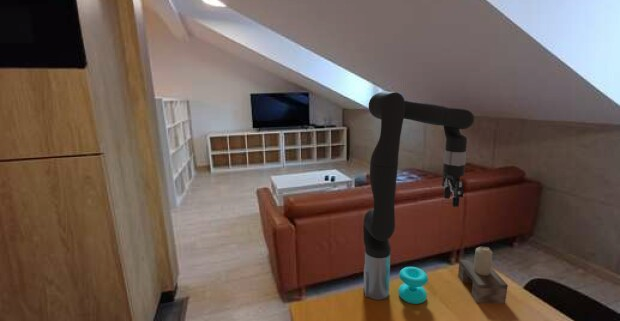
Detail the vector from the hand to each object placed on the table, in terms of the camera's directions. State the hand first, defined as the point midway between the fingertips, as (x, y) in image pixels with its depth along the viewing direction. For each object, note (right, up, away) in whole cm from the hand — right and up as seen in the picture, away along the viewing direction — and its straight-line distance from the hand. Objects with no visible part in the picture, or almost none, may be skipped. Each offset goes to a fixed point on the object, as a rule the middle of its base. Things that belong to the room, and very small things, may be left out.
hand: (450, 202), depth 119 cm
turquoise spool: (-17, -35, -5) cm, 39 cm away
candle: (+10, -26, -4) cm, 28 cm away
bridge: (+10, -33, -2) cm, 35 cm away
